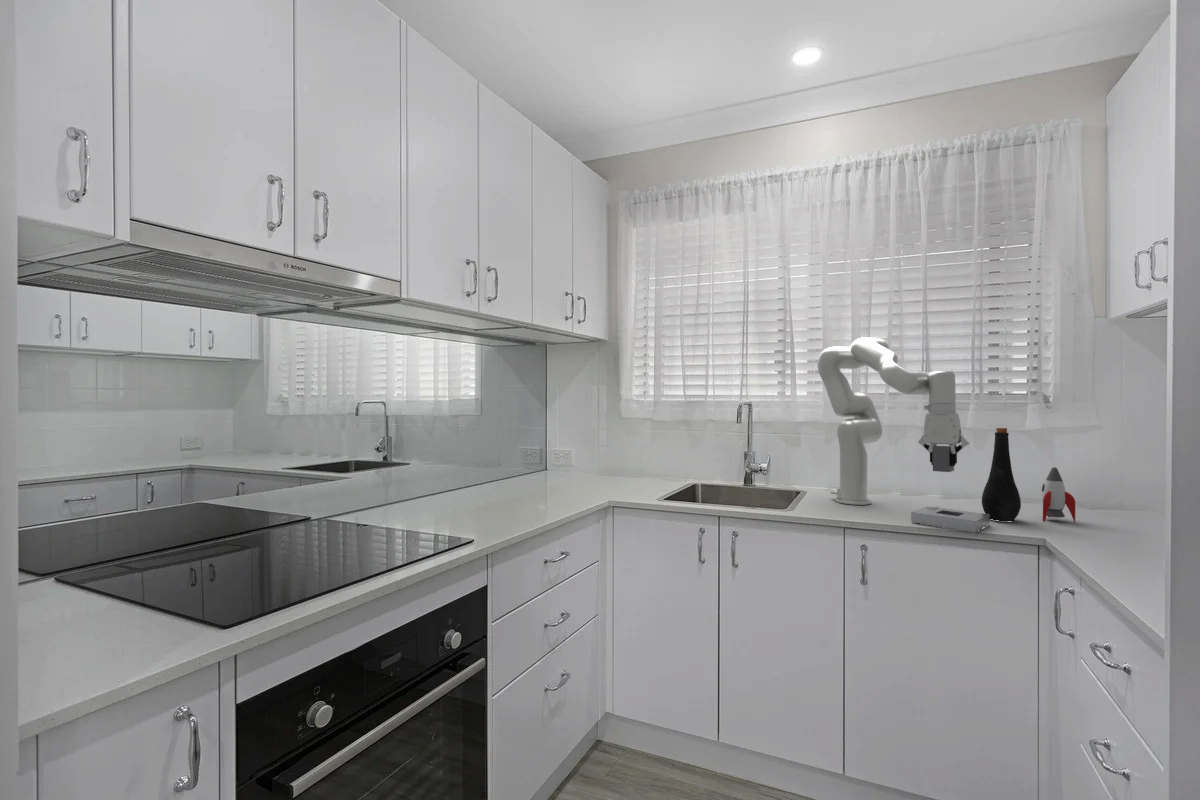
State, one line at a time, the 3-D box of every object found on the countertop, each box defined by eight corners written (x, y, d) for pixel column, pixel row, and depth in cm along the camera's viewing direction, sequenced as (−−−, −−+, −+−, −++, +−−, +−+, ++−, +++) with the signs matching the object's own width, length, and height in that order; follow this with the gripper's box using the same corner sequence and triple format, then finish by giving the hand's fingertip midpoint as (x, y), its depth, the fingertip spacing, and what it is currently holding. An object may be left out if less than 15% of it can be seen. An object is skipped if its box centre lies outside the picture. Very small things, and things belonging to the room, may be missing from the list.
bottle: (1020, 525, 185) (1021, 429, 184) (980, 520, 191) (980, 428, 191) (1021, 519, 193) (1022, 427, 193) (982, 514, 200) (983, 426, 199)
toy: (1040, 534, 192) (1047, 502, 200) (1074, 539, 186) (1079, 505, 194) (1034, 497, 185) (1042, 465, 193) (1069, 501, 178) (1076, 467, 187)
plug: (932, 471, 191) (932, 446, 191) (940, 469, 196) (939, 445, 196) (949, 472, 188) (948, 447, 188) (956, 470, 192) (955, 445, 193)
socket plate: (911, 522, 188) (911, 509, 188) (927, 516, 198) (927, 503, 198) (975, 532, 175) (975, 518, 175) (989, 525, 184) (989, 511, 184)
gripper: (910, 409, 195) (911, 464, 195) (968, 409, 182) (969, 468, 182) (918, 409, 200) (919, 462, 200) (975, 408, 187) (976, 466, 187)
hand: (943, 464), depth 191 cm, fingers closed on plug, 4 cm apart
